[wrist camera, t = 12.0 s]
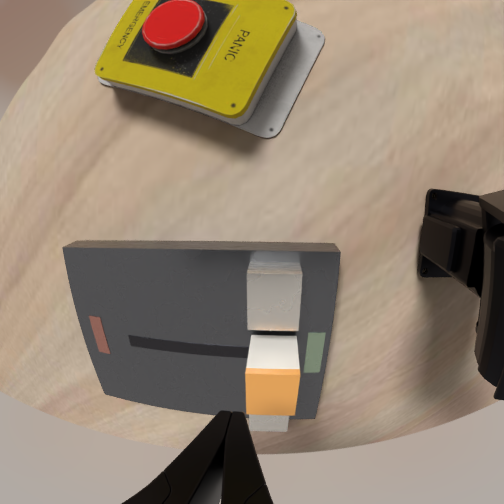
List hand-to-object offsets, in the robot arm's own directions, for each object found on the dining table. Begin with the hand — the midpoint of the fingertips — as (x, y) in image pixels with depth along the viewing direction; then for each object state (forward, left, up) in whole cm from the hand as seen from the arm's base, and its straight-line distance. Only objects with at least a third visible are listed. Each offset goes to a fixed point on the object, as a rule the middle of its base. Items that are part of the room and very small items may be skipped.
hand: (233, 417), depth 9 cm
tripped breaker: (-1, +4, -9) cm, 10 cm away
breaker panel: (+5, +4, -12) cm, 13 cm away
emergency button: (+4, -17, -13) cm, 22 cm away
